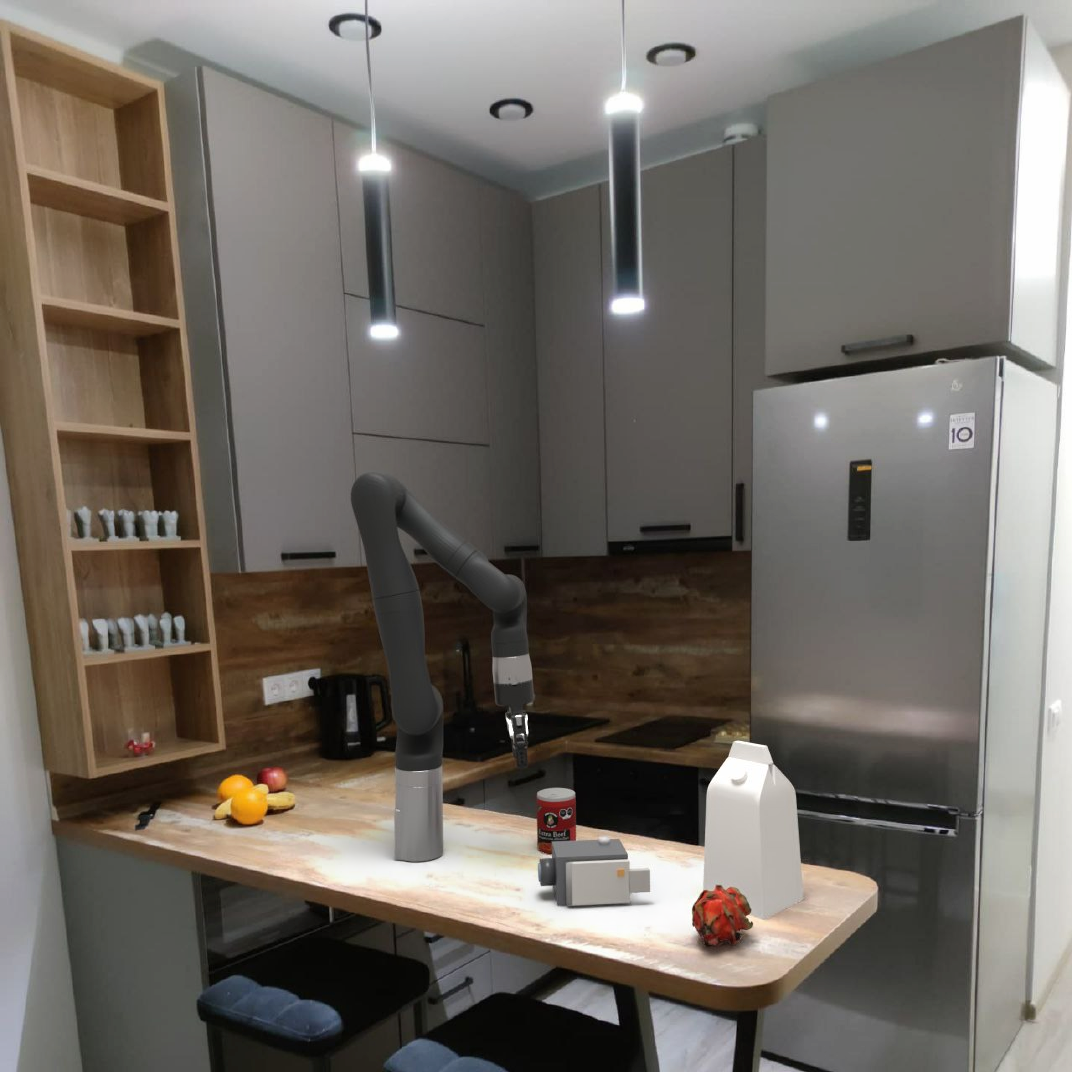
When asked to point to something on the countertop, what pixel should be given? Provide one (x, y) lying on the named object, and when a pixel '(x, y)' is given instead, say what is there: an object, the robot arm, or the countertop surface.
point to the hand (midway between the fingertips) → (520, 762)
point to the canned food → (555, 817)
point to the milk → (753, 831)
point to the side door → (604, 882)
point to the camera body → (575, 860)
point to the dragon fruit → (721, 915)
